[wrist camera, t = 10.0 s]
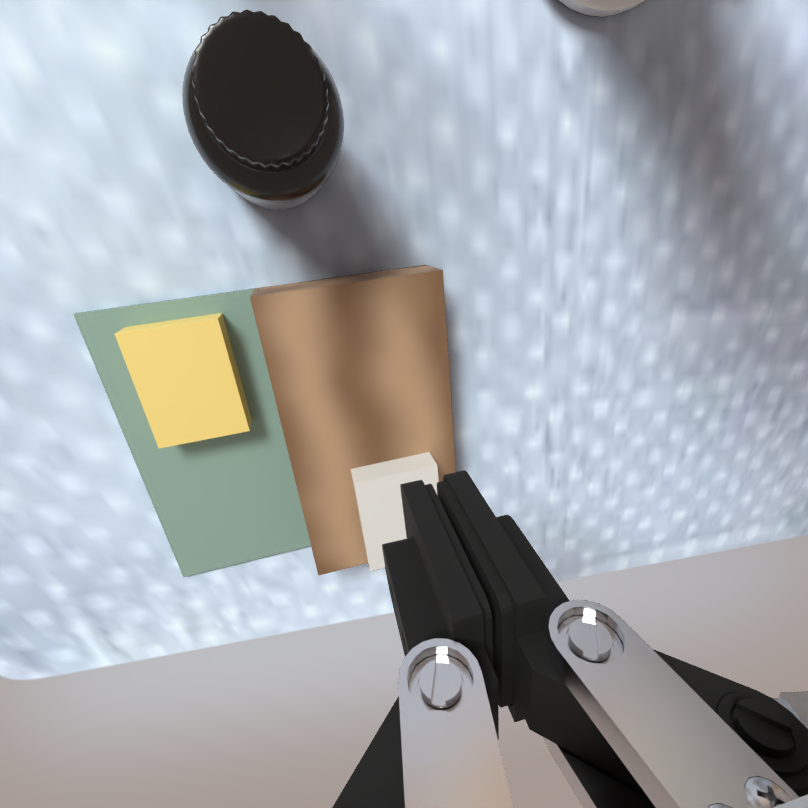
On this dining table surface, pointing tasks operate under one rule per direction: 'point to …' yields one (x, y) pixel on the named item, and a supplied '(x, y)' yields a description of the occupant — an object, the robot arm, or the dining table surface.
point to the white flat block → (387, 500)
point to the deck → (356, 388)
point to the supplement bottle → (263, 110)
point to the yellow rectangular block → (186, 379)
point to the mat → (207, 446)
